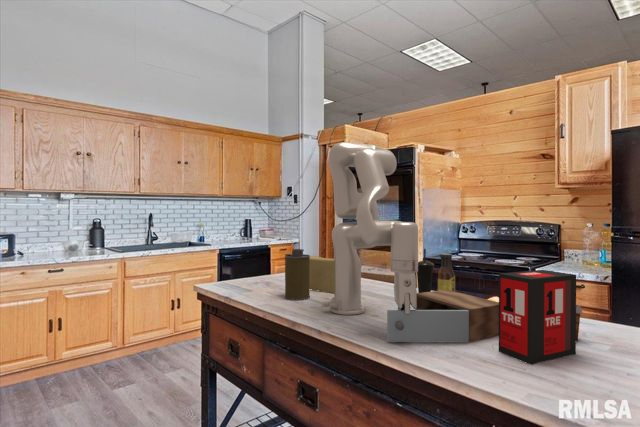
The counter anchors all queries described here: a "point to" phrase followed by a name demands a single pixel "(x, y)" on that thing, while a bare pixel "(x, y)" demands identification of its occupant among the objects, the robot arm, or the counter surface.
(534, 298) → the cleaning product box
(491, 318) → the cabinet
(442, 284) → the sauce bottle
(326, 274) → the cheese
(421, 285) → the drinking cup
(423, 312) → the door
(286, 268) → the canister
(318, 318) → the counter surface
